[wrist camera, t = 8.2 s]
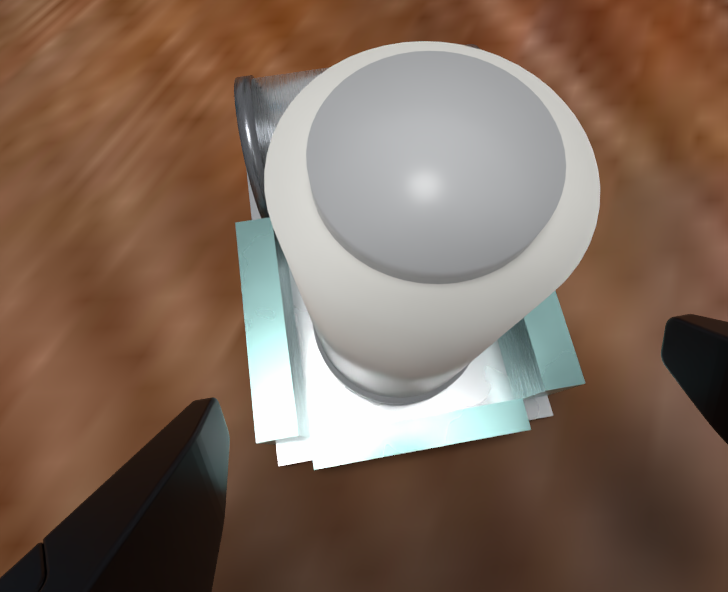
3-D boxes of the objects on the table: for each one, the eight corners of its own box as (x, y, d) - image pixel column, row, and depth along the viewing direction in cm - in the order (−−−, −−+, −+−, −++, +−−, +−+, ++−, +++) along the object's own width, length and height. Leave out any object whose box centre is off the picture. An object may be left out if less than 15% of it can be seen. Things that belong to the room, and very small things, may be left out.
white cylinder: (501, 367, 17) (704, 241, 7) (352, 433, 16) (329, 402, 6) (431, 233, 18) (510, -28, 8) (294, 287, 18) (200, 72, 8)
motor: (549, 425, 16) (637, 412, 11) (282, 474, 16) (239, 486, 11) (460, 120, 21) (493, 4, 15) (247, 152, 20) (203, 44, 15)
